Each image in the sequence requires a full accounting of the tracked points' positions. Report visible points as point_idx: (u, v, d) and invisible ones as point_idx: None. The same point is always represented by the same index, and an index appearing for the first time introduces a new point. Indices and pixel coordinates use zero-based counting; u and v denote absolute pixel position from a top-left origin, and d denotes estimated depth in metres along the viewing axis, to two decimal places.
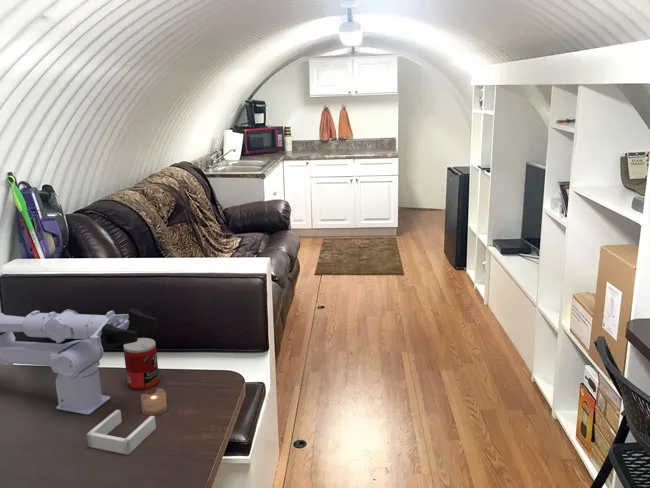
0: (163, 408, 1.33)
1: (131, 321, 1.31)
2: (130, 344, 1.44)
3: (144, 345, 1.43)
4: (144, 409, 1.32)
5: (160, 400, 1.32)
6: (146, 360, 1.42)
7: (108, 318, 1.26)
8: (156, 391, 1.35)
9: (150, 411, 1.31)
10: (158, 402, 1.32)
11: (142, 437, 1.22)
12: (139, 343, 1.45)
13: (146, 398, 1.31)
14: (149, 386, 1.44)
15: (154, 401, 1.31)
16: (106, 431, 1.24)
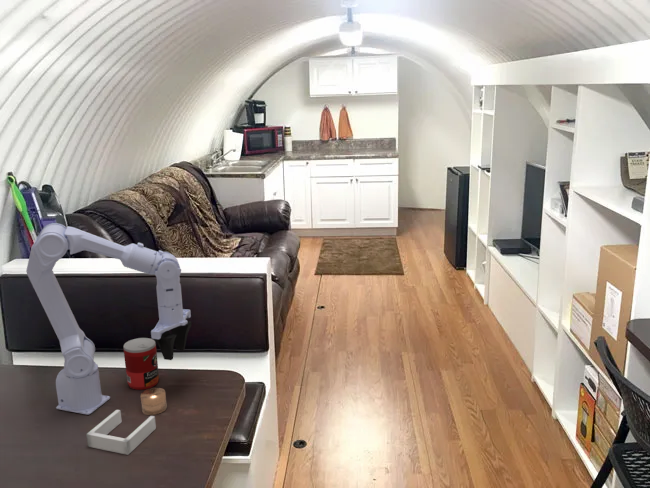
0: (163, 407, 1.33)
1: (178, 325, 1.42)
2: (130, 344, 1.44)
3: (144, 345, 1.43)
4: (144, 409, 1.32)
5: (160, 399, 1.32)
6: (146, 360, 1.42)
7: (179, 325, 1.37)
8: (155, 390, 1.35)
9: (151, 410, 1.31)
10: (158, 401, 1.32)
11: (142, 437, 1.22)
12: (139, 343, 1.45)
13: (146, 397, 1.31)
14: (149, 386, 1.44)
15: (154, 400, 1.31)
16: (106, 431, 1.24)
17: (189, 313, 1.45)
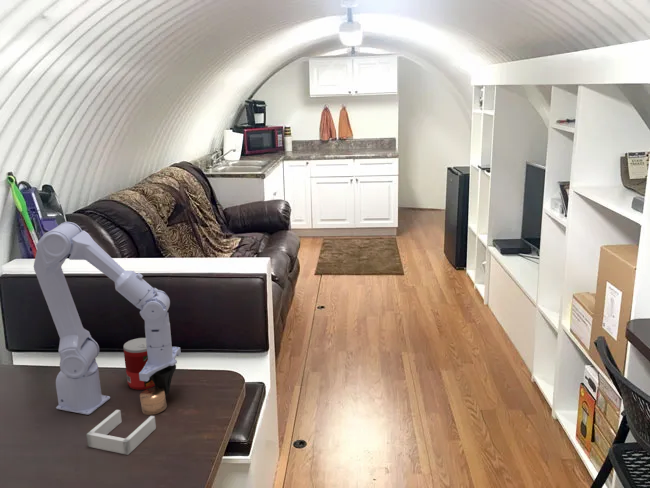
0: (165, 404, 1.34)
1: (162, 369, 1.36)
2: (130, 344, 1.44)
3: (144, 345, 1.43)
4: (147, 409, 1.31)
5: (162, 396, 1.33)
6: (146, 360, 1.42)
7: (168, 365, 1.34)
8: (152, 390, 1.35)
9: (155, 409, 1.32)
10: (161, 398, 1.32)
11: (142, 437, 1.22)
12: (139, 343, 1.45)
13: (148, 398, 1.31)
14: (149, 386, 1.44)
15: (157, 398, 1.31)
16: (106, 431, 1.24)
17: (179, 351, 1.41)
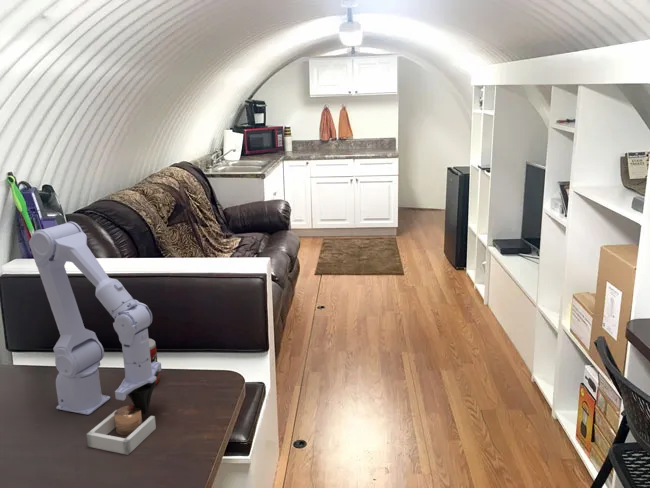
0: None
1: (141, 386, 1.28)
2: None
3: None
4: (119, 429, 1.24)
5: (137, 418, 1.25)
6: None
7: (147, 382, 1.26)
8: (129, 408, 1.27)
9: (126, 430, 1.24)
10: (135, 420, 1.24)
11: (142, 437, 1.22)
12: None
13: (121, 417, 1.24)
14: None
15: (130, 419, 1.24)
16: (106, 431, 1.24)
17: (159, 366, 1.34)
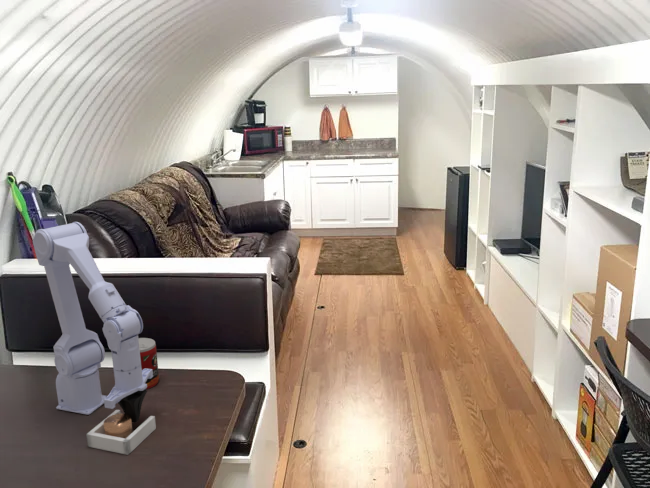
0: None
1: (131, 394, 1.25)
2: None
3: (144, 345, 1.43)
4: None
5: (127, 426, 1.21)
6: (146, 360, 1.42)
7: (137, 390, 1.23)
8: (119, 417, 1.24)
9: None
10: (125, 429, 1.21)
11: (142, 437, 1.22)
12: (139, 343, 1.45)
13: (110, 426, 1.20)
14: (149, 386, 1.44)
15: (120, 428, 1.20)
16: None
17: (151, 373, 1.30)
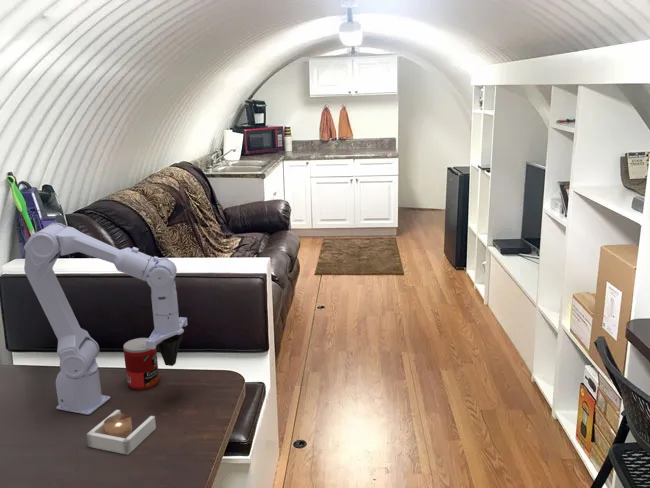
0: None
1: None
2: (130, 344, 1.44)
3: (144, 345, 1.43)
4: None
5: (127, 427, 1.21)
6: (146, 360, 1.42)
7: (175, 334, 1.32)
8: (120, 417, 1.24)
9: None
10: (125, 429, 1.21)
11: (142, 437, 1.22)
12: (139, 343, 1.45)
13: (110, 426, 1.20)
14: (149, 386, 1.44)
15: (120, 428, 1.20)
16: None
17: (186, 321, 1.40)
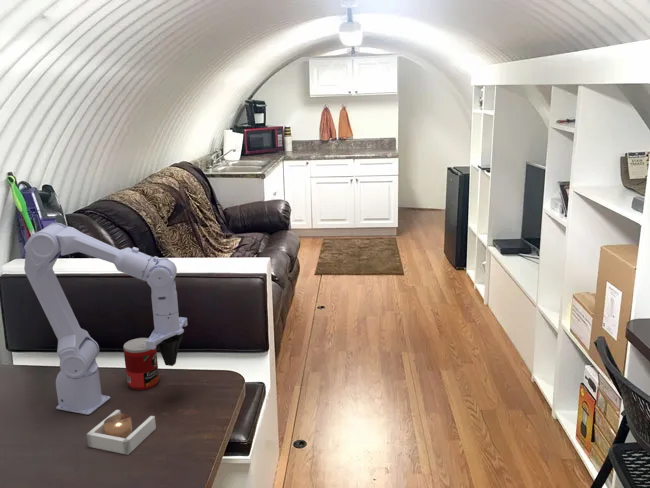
0: None
1: None
2: (130, 344, 1.44)
3: (144, 345, 1.43)
4: None
5: (127, 427, 1.21)
6: (146, 360, 1.42)
7: (175, 334, 1.32)
8: (119, 417, 1.24)
9: None
10: (125, 429, 1.21)
11: (142, 437, 1.22)
12: (139, 343, 1.45)
13: (110, 426, 1.20)
14: (149, 386, 1.44)
15: (120, 428, 1.20)
16: None
17: (186, 321, 1.40)
